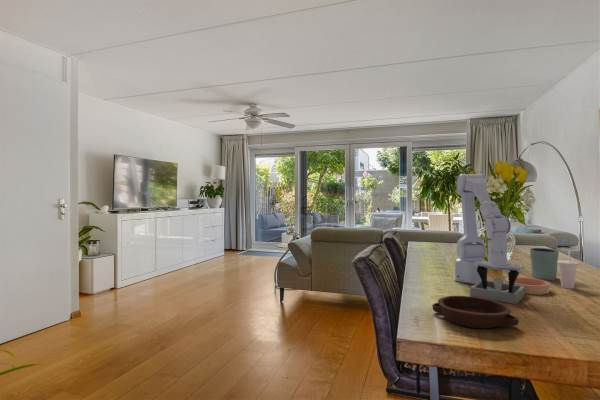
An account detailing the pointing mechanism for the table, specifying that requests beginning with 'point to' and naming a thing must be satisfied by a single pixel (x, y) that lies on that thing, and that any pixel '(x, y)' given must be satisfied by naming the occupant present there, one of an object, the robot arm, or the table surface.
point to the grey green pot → (544, 263)
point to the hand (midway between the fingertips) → (497, 289)
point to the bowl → (532, 285)
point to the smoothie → (567, 272)
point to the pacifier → (497, 285)
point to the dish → (474, 312)
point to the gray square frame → (498, 292)
